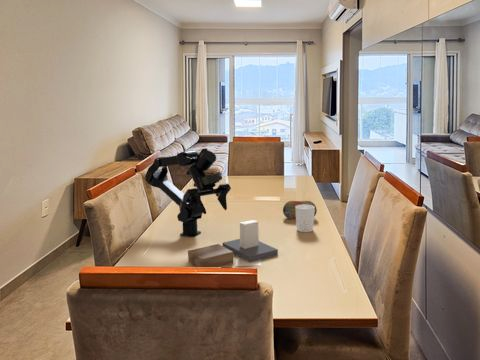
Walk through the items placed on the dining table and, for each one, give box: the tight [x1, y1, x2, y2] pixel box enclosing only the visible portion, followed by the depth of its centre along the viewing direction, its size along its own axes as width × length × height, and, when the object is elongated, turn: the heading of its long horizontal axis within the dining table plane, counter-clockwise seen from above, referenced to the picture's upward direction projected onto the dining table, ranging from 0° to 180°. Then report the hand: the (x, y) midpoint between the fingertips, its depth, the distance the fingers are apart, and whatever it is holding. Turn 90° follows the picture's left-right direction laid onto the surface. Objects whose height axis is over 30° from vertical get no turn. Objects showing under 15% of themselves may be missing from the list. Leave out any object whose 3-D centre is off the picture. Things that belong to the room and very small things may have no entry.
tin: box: [282, 200, 318, 220], centre depth 206 cm, size 15×3×8 cm, turn 81°
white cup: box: [295, 205, 315, 233], centre depth 189 cm, size 8×8×10 cm
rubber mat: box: [222, 238, 279, 263], centre depth 166 cm, size 18×12×2 cm, turn 33°
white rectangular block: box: [239, 219, 260, 249], centre depth 164 cm, size 3×6×9 cm, turn 124°
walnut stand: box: [187, 243, 234, 268], centre depth 155 cm, size 10×12×4 cm
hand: (216, 211), depth 170 cm, fingers open, 9 cm apart
